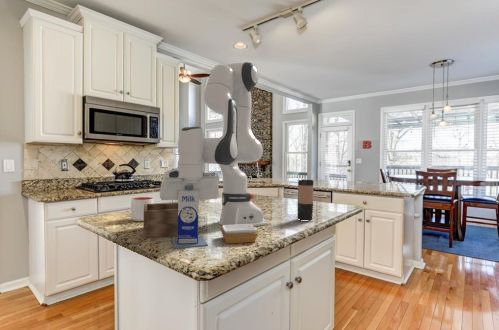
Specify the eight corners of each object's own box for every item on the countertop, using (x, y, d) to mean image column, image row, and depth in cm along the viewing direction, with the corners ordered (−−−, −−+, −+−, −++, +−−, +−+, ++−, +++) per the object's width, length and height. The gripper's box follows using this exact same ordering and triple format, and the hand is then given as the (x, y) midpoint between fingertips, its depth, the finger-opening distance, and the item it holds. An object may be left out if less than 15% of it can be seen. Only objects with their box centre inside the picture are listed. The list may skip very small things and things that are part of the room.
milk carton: (198, 238, 103) (199, 183, 102) (198, 243, 96) (199, 185, 96) (178, 238, 101) (179, 183, 101) (176, 244, 95) (177, 185, 94)
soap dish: (252, 236, 110) (252, 223, 110) (258, 243, 100) (258, 229, 100) (220, 237, 107) (220, 224, 107) (223, 245, 97) (223, 230, 97)
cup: (126, 219, 133) (126, 198, 132) (145, 216, 141) (145, 196, 141) (139, 222, 127) (139, 200, 127) (157, 219, 135) (158, 198, 135)
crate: (183, 225, 124) (183, 202, 124) (188, 234, 109) (189, 209, 108) (143, 227, 118) (144, 203, 118) (143, 238, 103) (143, 210, 103)
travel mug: (314, 222, 136) (315, 180, 136) (298, 221, 137) (299, 180, 136) (310, 218, 144) (311, 179, 144) (295, 218, 144) (296, 179, 144)
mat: (201, 237, 106) (201, 235, 106) (207, 245, 96) (207, 244, 96) (171, 239, 102) (171, 237, 102) (174, 248, 92) (174, 247, 92)
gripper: (217, 172, 105) (216, 209, 105) (159, 172, 98) (159, 211, 98) (221, 173, 99) (220, 212, 99) (160, 173, 92) (160, 215, 92)
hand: (189, 212), depth 99 cm, fingers closed
